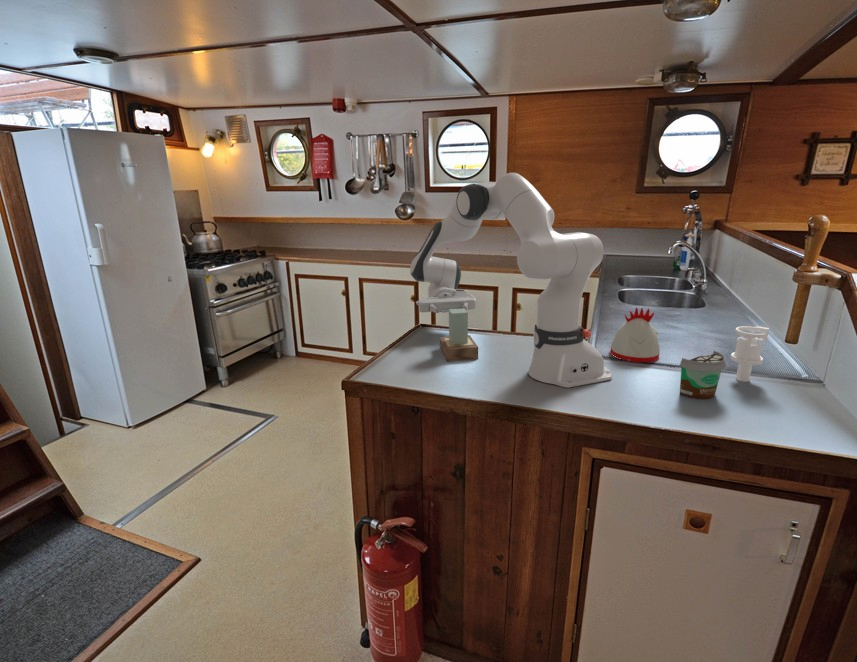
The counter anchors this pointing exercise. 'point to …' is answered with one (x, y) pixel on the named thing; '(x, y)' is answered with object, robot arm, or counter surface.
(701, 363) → the food container
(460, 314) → the pillar block
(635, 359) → the kitchen timer
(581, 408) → the counter surface
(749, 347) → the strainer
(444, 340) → the build plinth
